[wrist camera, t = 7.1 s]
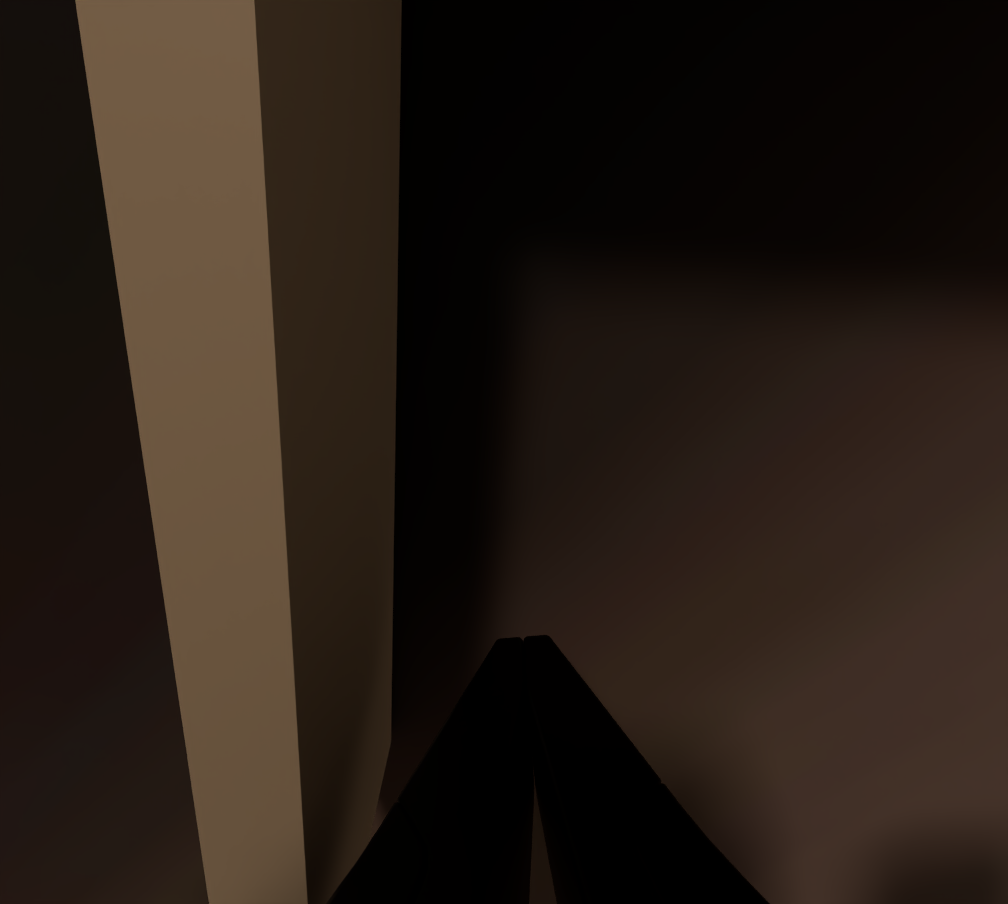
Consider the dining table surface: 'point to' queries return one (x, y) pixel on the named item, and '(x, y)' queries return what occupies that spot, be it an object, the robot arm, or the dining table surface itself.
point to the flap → (264, 401)
